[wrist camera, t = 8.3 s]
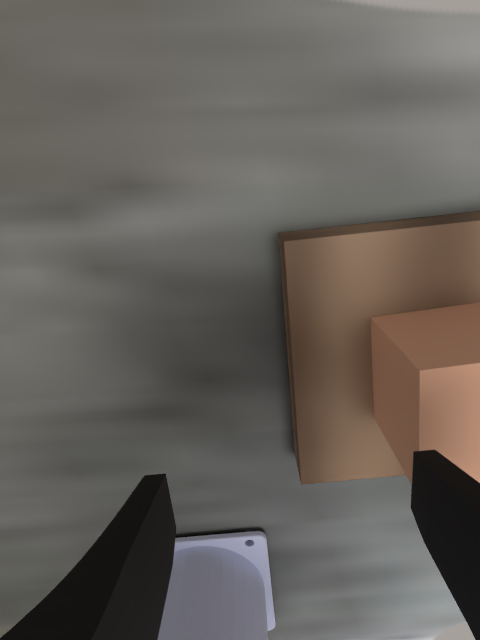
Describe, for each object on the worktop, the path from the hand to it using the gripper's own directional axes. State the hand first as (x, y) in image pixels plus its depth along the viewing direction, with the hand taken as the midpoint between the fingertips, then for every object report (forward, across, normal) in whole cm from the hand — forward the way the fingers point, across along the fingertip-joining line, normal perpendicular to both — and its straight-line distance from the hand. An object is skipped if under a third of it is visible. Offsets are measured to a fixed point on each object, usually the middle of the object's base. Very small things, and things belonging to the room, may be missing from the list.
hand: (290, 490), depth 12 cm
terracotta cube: (+7, -7, 0) cm, 10 cm away
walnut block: (+10, -7, 0) cm, 12 cm away
